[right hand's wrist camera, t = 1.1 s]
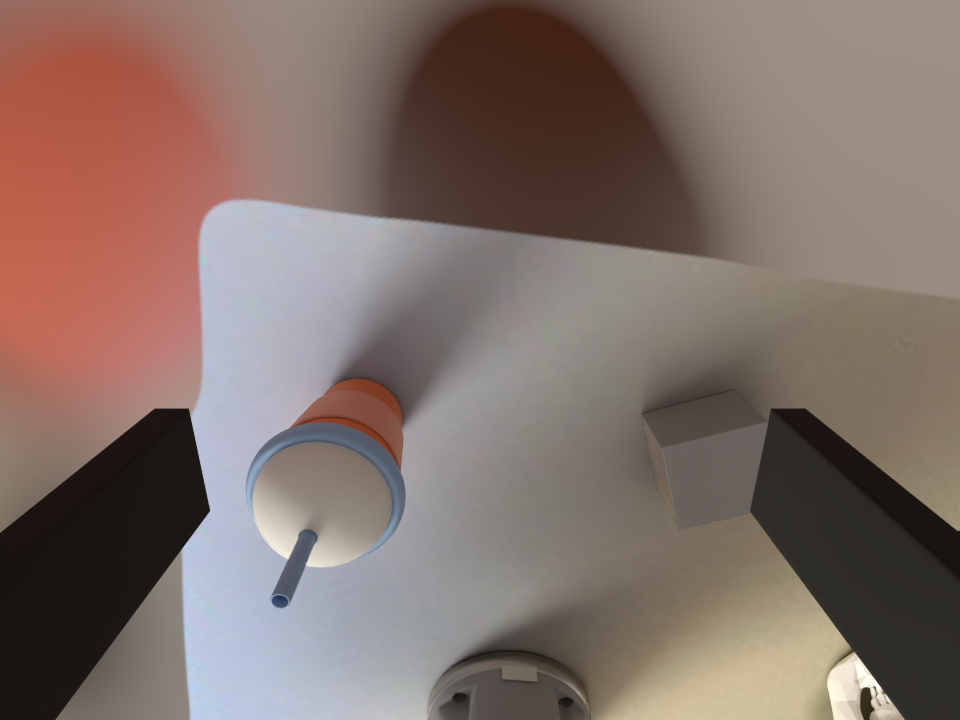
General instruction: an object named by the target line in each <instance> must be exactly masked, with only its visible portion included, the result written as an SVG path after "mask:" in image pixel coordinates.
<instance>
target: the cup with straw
mask: <svg viewBox="0 0 960 720" xmlns="http://www.w3.org/2000/svg"><path fill="white" fill-rule="evenodd" d="M402 448H403V433H402V412H401V409H400V406H399V404H398V401H397V400H396V398H395V397H394V396H393V394H392V393H391V392H390V391H389V390H388V389H386V388H385V387H384V386H382V385H380V384H378V383H376V382H374V381H370V380H366V379H349V380H345V381H342V382H340V383H338V384H336V385H334V386H333V387H332V388H330V389H329V390H328V391H327V392H326V393H325V394H324V395H323V396H322V397H321V398H319V399H317V400H316V401H315V402H314V403H313V404H312V405H311V406H310V407H309V408H308V409H307V410H306V411H305V412H304V413H303V414H302V415H301V416H300V417H299V419H298V420H297V421H296V422H295V423H294V424H293V425H292V426H291V427H290V428H289V429H287V430H285V431H283V432H281V433H279V434H277V435H276V436H274V437H273V438H272V439H270V440H269V441H268V442H267V443H266V444H265V445H264V446H263V447H262V448H261V449H260V450H259V452H258V453H257V455H256V456H255V458H254V460H253V462H252V464H251V466H250V469H249V471H248V475H247V480H246V498H247V503H248V507H249V510H250V513H251V515H252V517H253V519H254V521H255V522H256V524H257V526H258V529H259V531H260V533H261V534H262V536H263V538H264V539H265V540H266V542H267V543H268V544H269V545H270V546H271V547H272V548H273V549H274V550H275V551H276V552H277V553H279V554H280V555H282V556H283V557H285V558H287V559H288V561H287V563H286V566H285V568H284V570H283V572H282V574H281V576H280V579H279V581H278V583H277V585H276V587H275V589H274V592H273V594H272V596H271V598H270V602H271V604H272V605H273V606H274V607H275V608H278V609H284V608H286V607H288V606H289V604H290V602H291V600H292V597H293V595H294V592H295V590H296V588H297V585H298V583H299V580H300V578H301V575H302V573H303V571H304V568H305V566H310V567H330V566H336V565H341V564H344V563H347V562H349V561H352V560H354V559H357V558H360V557H363V556H365V555H367V554H369V553H371V552H373V551H374V550H376V549H378V548H379V547H380V546H381V545H383V544H384V543H385V542H386V541H387V540H388V539H389V538H390V537H391V535H392V534H393V533H394V531H395V530H396V528H397V526H398V524H399V522H400V520H401V518H402V515H403V511H404V507H405V486H404V481H403V477H402V475H401V461H402Z"/></svg>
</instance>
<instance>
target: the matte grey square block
mask: <svg viewBox="0 0 960 720" xmlns="http://www.w3.org/2000/svg"><path fill="white" fill-rule="evenodd" d="M642 419H643V424H644V428H645V433H646V438H647V442H648V447H649V452H650V457H651V461H652V466H653V471H654V475H655V480H656V485H657V489H658V491H659V493H660V495H661V497H662V499H663V501H664V503H665V505H666V507H667V509H668V511H669V513H670V515H671V517H672V519H673V521H674V523H675V525H676V527H677V529H678V530H680V529H684V528H688V527H693V526H697V525H701V524H706V523H710V522H714V521H719V520H723V519H727V518H732V517H736V516H740V515H744V514H749V513H751V512H750V508H751V503H752V498H753V493H754V489H755V484H756V479H757V474H758V469H759V465H760V460H761V455H762V450H763V446H764V441H765V436H766V431H767V426H768V421H767V420H766V419H765V418H764V417H763V416H762V415H761V414H759V413H758V412H757V411H756V410H755V409H754V408H753V407H752V406H751V405H750V404H749V403H748V402H747V401H746V400H745V399H744V398H743V397H742V396H741V395H740V394H739V393H738V392H737V391H736V390H732V391H728V392H724V393H720V394H717V395H713V396H709V397H705V398H701V399H697V400H693V401H689V402H685V403H681V404H678V405H674V406H670V407H666V408H662V409H658V410H654V411H650V412H646V413H642Z"/></svg>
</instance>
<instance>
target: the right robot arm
mask: <svg viewBox="0 0 960 720" xmlns="http://www.w3.org/2000/svg"><path fill="white" fill-rule="evenodd" d="M209 512H210V508H209V503H208V498H207V493H206V489H205V484H204V479H203V474H202V469H201V465H200V460H199V455H198V450H197V446H196V441H195V436H194V431H193V426H192V422H191V417H190V412H189V409H154V410H152V411H151V412H150V413H149V414H147V415H146V416H145V417H144V418H143V419H141V420H140V421H139V422H138V423H136V424H135V425H134V426H133V427H131V428H130V429H129V430H128V431H126V432H125V433H124V434H123V435H121V436H120V437H119V438H118V439H116V440H115V441H114V442H113V443H111V444H110V445H109V446H108V447H107V448H105V449H104V450H103V451H102V452H100V453H99V454H98V455H97V456H95V457H94V458H93V459H92V460H90V461H89V462H88V463H87V464H85V465H84V466H83V467H82V468H80V469H79V470H78V471H77V472H75V473H74V474H73V475H72V476H70V477H69V478H68V479H67V480H65V481H64V482H63V483H62V484H61V485H59V486H58V487H57V488H56V489H54V490H53V491H52V492H51V493H49V494H48V495H47V496H46V497H44V498H43V499H42V500H41V501H39V502H38V503H37V504H36V505H34V506H33V507H32V508H31V509H29V510H28V511H27V512H26V513H24V514H23V515H22V516H21V517H19V518H18V519H17V520H16V521H15V522H13V523H12V524H11V525H10V526H8V527H7V528H6V529H5V530H3V531H2V532H1V533H0V720H55V719H56V718H57V717H58V715H59V714H60V713H61V711H62V710H63V709H64V707H65V706H66V705H67V703H68V702H69V701H70V699H71V698H72V696H73V695H74V694H75V692H76V691H77V690H78V688H79V687H80V686H81V684H82V683H83V682H84V680H85V679H86V678H87V676H88V675H89V673H90V672H91V671H92V669H93V668H94V667H95V665H96V664H97V663H98V661H99V660H100V659H101V657H102V656H103V655H104V653H105V652H106V651H107V649H108V648H109V647H110V645H111V644H112V643H113V641H114V640H115V639H116V637H117V636H118V634H119V633H120V632H121V630H122V629H123V628H124V626H125V625H126V624H127V622H128V621H129V620H130V618H131V617H132V615H133V614H134V613H135V612H136V610H137V609H138V607H139V606H140V605H141V603H142V602H143V601H144V599H145V598H146V597H147V595H148V594H149V593H150V591H151V590H152V589H153V587H154V586H155V585H156V583H157V582H158V580H159V579H160V578H161V576H162V575H163V574H164V572H165V571H166V570H167V568H168V567H169V566H170V564H171V563H172V562H173V560H174V559H175V558H176V556H177V555H178V554H179V552H180V551H181V549H182V548H183V547H184V545H185V544H186V543H187V541H188V540H189V539H190V537H191V536H192V535H193V533H194V532H195V531H196V529H197V528H198V527H199V525H200V524H201V523H202V521H203V520H204V518H205V517H206V516H207V514H208V513H209ZM750 512H751V513H752V514H753V516H754V517H755V518H756V520H757V521H758V523H759V524H760V525H761V527H762V528H763V529H764V531H765V532H766V533H767V535H768V536H769V537H770V539H771V540H772V541H773V543H774V544H775V545H776V547H777V548H778V549H779V551H780V552H781V554H782V555H783V556H784V558H785V559H786V560H787V562H788V563H789V564H790V566H791V567H792V568H793V570H794V571H795V572H796V574H797V575H798V576H799V578H800V579H801V581H802V582H803V583H804V585H805V586H806V587H807V589H808V590H809V591H810V593H811V594H812V595H813V597H814V598H815V599H816V601H817V602H818V603H819V605H820V606H821V607H822V609H823V610H824V612H825V613H826V614H827V616H828V617H829V618H830V620H831V621H832V622H833V624H834V625H835V626H836V628H837V629H838V630H839V632H840V633H841V634H842V636H843V637H844V639H845V640H846V641H847V643H848V644H849V645H850V647H851V648H852V649H853V651H854V652H855V653H856V655H857V656H858V657H859V659H860V660H861V661H862V663H863V664H864V665H865V667H866V668H867V670H868V671H869V672H870V674H871V675H872V676H873V678H874V679H875V680H876V682H877V683H878V684H879V686H880V687H881V688H882V690H883V691H884V692H885V694H886V695H887V696H888V698H889V699H890V701H891V702H892V703H893V705H894V706H895V707H896V709H897V710H898V711H899V713H900V714H901V715H902V717H903V718H904V719H905V720H960V531H957V530H955V529H954V528H953V527H952V526H950V525H949V524H948V523H947V522H946V521H944V520H943V519H942V518H941V517H939V516H938V515H937V514H936V513H934V512H933V511H932V510H931V509H929V508H928V507H927V506H926V505H924V504H923V503H922V502H921V501H919V500H918V499H917V498H916V497H914V496H913V495H912V494H911V493H909V492H908V491H907V490H906V489H904V488H903V487H902V486H901V485H900V484H898V483H897V482H896V481H895V480H893V479H892V478H891V477H890V476H888V475H887V474H886V473H885V472H883V471H882V470H881V469H880V468H878V467H877V466H876V465H875V464H873V463H872V462H871V461H870V460H868V459H867V458H866V457H865V456H863V455H862V454H861V453H860V452H859V451H857V450H856V449H855V448H854V447H852V446H851V445H850V444H849V443H847V442H846V441H845V440H844V439H842V438H841V437H840V436H839V435H837V434H836V433H835V432H834V431H832V430H831V429H830V428H829V427H827V426H826V425H825V424H824V423H822V422H821V421H820V420H819V419H817V418H816V417H815V416H814V415H813V414H811V413H810V412H809V411H808V410H806V409H771V412H770V417H769V422H768V426H767V431H766V436H765V441H764V446H763V450H762V455H761V460H760V465H759V469H758V474H757V479H756V484H755V489H754V493H753V498H752V503H751V508H750ZM427 720H591V717H590V712H589V706H588V701H587V696H586V693H585V691H584V689H583V687H582V685H581V683H580V682H579V681H578V679H577V678H576V677H575V676H574V675H573V674H572V673H571V672H570V671H569V670H567V669H566V668H565V667H563V666H561V665H560V664H558V663H556V662H554V661H552V660H550V659H547V658H545V657H542V656H538V655H534V654H530V653H523V652H495V653H489V654H484V655H480V656H476V657H473V658H471V659H468V660H466V661H464V662H462V663H460V664H458V665H456V666H454V667H453V668H452V669H450V670H449V671H448V672H446V673H445V674H444V675H443V676H442V677H441V678H440V679H439V680H438V682H437V683H436V685H435V686H434V688H433V690H432V692H431V695H430V698H429V702H428V712H427Z"/></svg>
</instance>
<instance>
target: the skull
mask: <svg viewBox="0 0 960 720" xmlns="http://www.w3.org/2000/svg"><path fill="white" fill-rule="evenodd" d="M827 685H828V690H829V695H830V700H831V705H832V711H833V718H834V720H864V719H863V716H862V714H861V709H860V693H861V691H862V688H864V687H869V688H870V692H871V695H872V698H873V699H871V705H872V707H873V708H874V709H875V710H874V711H873V712H872V713H871V715H870V720H905V719H904V718H903V717H902V715H901V714H900V713H899V711H898V710H897V709H896V707H895V706H894V705H893V703H892V702H891V701H890V699H889V698H888V696H887V695H886V694H885V695H883V694H882V693H883V692H884V691H883V690H882V688H881V687H880V686H879V684H878V683H877V682H876V680H875V679H874V678H873V676H872V675H871V674H870V672H869V671H868V670H867V668H866V667H865V665H864V664H863V663H862V661H861V660H860V659H859V657H858V656H857V655H856V653H855V652H853V653H851V654H850V655H848V656H847V657H846V658H844V659H843V660H841V661H840V662H838V663H837V665H836V666H835V667H834V668H833V669H832V671H831V672H830V674H829V675H828V682H827ZM874 686H876V689H875V688H874ZM877 694H878V695H877ZM876 695H877V696H876ZM875 696H876V697H877V698H876V697H875ZM888 702H889V704H888Z"/></svg>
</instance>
